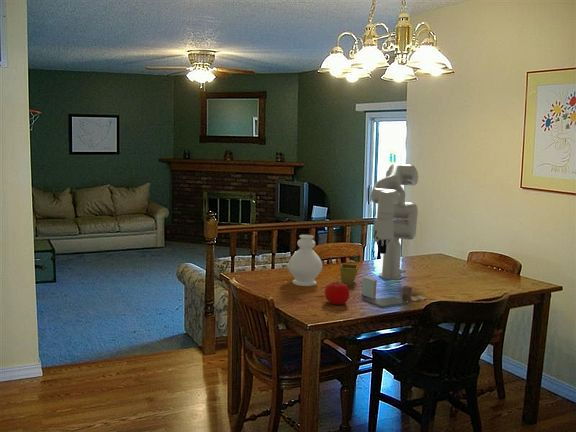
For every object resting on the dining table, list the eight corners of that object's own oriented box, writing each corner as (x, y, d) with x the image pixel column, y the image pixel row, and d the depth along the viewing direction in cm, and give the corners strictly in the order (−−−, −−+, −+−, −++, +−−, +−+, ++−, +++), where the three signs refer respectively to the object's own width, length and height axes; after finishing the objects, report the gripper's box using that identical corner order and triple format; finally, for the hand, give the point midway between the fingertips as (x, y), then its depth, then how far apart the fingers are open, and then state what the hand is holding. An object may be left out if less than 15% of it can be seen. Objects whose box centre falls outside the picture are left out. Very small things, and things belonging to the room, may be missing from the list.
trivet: (393, 298, 304) (393, 296, 304) (407, 303, 296) (407, 301, 296) (368, 302, 295) (368, 300, 295) (382, 308, 287) (382, 305, 287)
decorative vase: (328, 283, 326) (330, 236, 322) (305, 289, 313) (308, 240, 309) (302, 276, 338) (305, 231, 334) (280, 282, 325) (282, 234, 321)
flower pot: (355, 285, 325) (356, 268, 324) (338, 283, 327) (339, 267, 325) (357, 281, 334) (358, 265, 332) (340, 279, 335) (341, 263, 334)
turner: (407, 302, 298) (408, 288, 297) (400, 299, 302) (401, 285, 301) (425, 299, 304) (426, 285, 303) (418, 297, 308) (419, 283, 307)
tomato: (354, 305, 290) (355, 283, 288) (335, 308, 283) (336, 286, 282) (337, 298, 299) (339, 277, 298) (319, 301, 293) (320, 280, 291)
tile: (364, 294, 310) (366, 276, 308) (375, 298, 303) (376, 280, 302) (361, 294, 308) (362, 276, 307) (372, 298, 302) (373, 280, 301)
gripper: (391, 214, 311) (388, 250, 314) (367, 215, 303) (365, 252, 305) (401, 216, 305) (399, 253, 307) (378, 218, 296) (375, 256, 299)
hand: (382, 253), depth 306 cm, fingers closed
